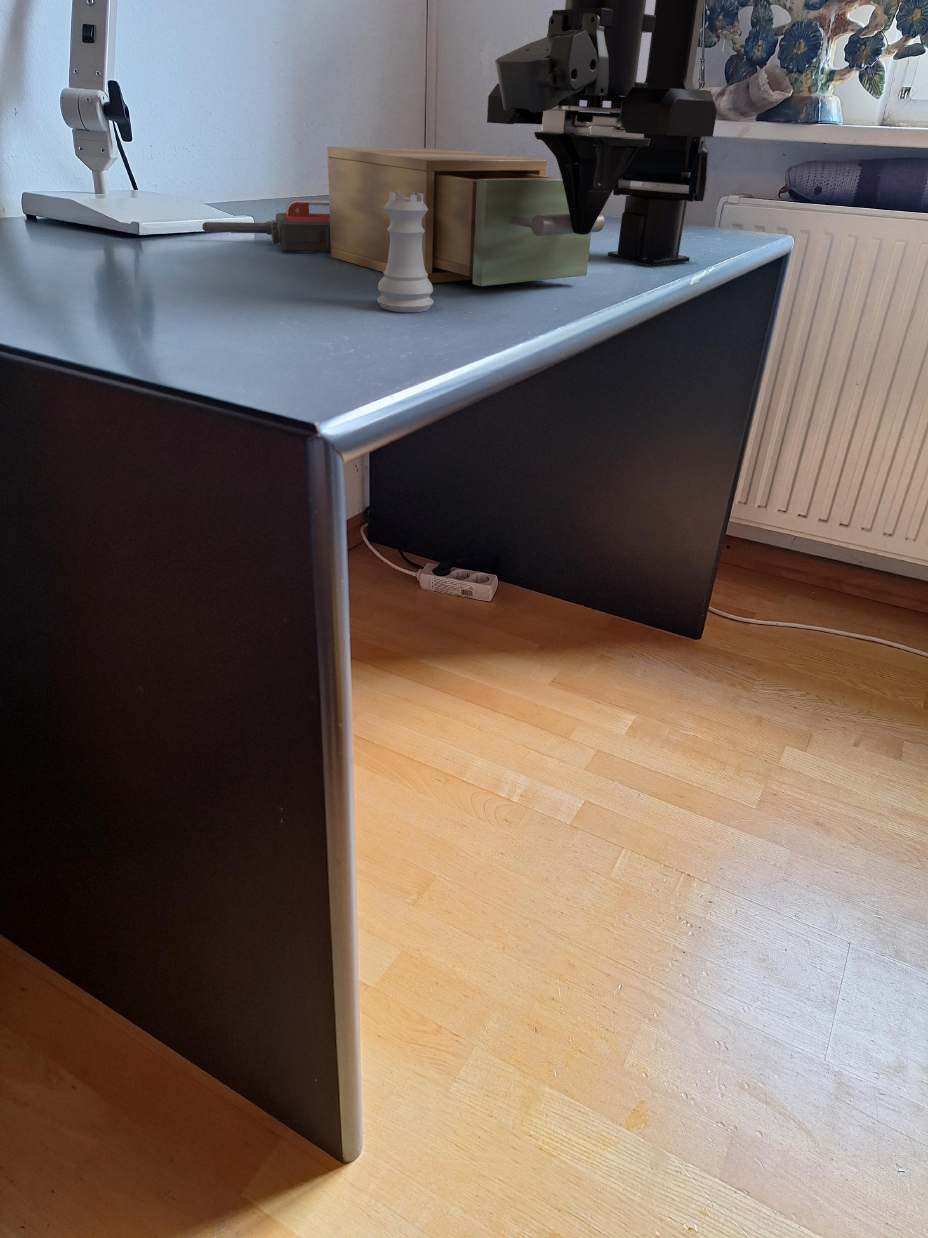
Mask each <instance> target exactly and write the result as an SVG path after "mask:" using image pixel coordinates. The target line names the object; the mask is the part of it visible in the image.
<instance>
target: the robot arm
mask: <svg viewBox="0 0 928 1238" xmlns="http://www.w3.org/2000/svg"><path fill="white" fill-rule="evenodd" d="M564 4H565V5H564V9H553V10H552V12H551V15H550V17H549V18H548V25H547V26H548V27H547V34H546V37H542V38H540V39H538V40H535V41H531V42H528V43H526V44H525V45H523V46H520V47H519V48H516V49H514V50H511V51H510V52H508V53H506V54H503V55H501V56H500V57H499V56H498V57H497V58H496V59H495V61H494V62H495V68H496V74H497V79H498V83H496V85H495V86H494V88H493V89H492V90H491V92H490V93H489V95H488V96H487V111H486V112H487V115H486V123H488V124H501V125H502V124H503V125H514V124H515V125H517V124H520V125H541V131H533V134H534V137H535V139H536V140H538V141H542V142H543V144H545V145H546V147H547V148H548V149H549V151H550V152H551V153H552V154H553V156H554V157H555V159H556V163H557V166H558V169H559V173H560V176H561V178H562V181H563V185H564V190H565V195H566V199H567V204H568V209H569V214H570V219H571V223H572V228H573V232H574V233H575V234H580V235H586V234H589V233H590V231H591V229H592V227H593V226H594V224H595V222H596V220H597V218H598V216H599V215H600V213H601V214H602V211H603V210H604V208H605V205H606V204H607V202H608V200H609V198H610V197H611V195H613V196H625V200H624V202H625V203H624V210H623V212H622V213H621V221H620V228H619V234H618V235H619V237H618V244H617V250H614V251H613V250H612V251H607V257H609V258H612V259H613V258H614V259H619V260H623V261H629V262H633V263H638V264H642V265H646V266H647V265H649V266H660V265H670V264H679V263H687V262H688V263H689V262H690V256H686V255H681V254H680V248H681V243H682V242H681V241H682V236H683V229H684V223H685V218H686V211H687V203H689V202H690V203H693V202H705V197H706V191H707V183H708V174H709V173H708V172H709V157H710V151H709V149H708V148H707V142H706V138H713V137H714V133H715V126H716V121H717V120H716V119H717V116H718V115H717V114H718V109H717V105H716V102H715V100H714V97H713V94H712V91H711V90H701V89H696V88H695V85H694V83H693V80H694V73H695V67H696V60H697V59H696V58H697V53H698V47H699V40H700V32H701V26H702V21H703V20H702V19H703V12H704V6H705V0H655V2H654V11H653V14H649V13H646V6H647V0H565V2H564ZM644 33H645V34H647V33H648V34H649V33H650V34H651V35H650V44H649V51H648V58H647V67H646V73H645V79H644V82H643V81H642V82H640V81H637V78H638V69H639V62H640V55H641V54H640V53H641V46H642V39H643V38H642V37H643V34H644ZM581 101H586V105H585V106H584V105H581ZM604 102H610V107H605V106H604ZM632 182H637V183H652V184H662V185H663V184H664V185H674V186H675V185H676V186H687V187H688V189H676V188H675V189H674V188H663V187H651V186H637V185H631V183H632Z"/></svg>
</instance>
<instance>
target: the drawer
mask: <svg viewBox="0 0 928 1238" xmlns="http://www.w3.org/2000/svg"><path fill="white" fill-rule="evenodd" d="M605 222H606V220H605V216H604V214H603V213H602V212H601V213H600V215H599V216H598V218H597V220H596V222H595V224H594V226H593V227H592V229H591V231H590V233H589V234H586V235H580V234H575V233H574V232H573V228H572V223H571V219H570V214H569V209H568V204H567V199H566V195H565V190H564V185H563V181H562V177H559V176H558V177H557V176H552V175H551V176H549V175H546V176H544V175H536V174H528V173H521V172H513V171H434V211H433V254H432V267H435V268H439V269H443V270H447V271H450V272H454V273H458V274H462V275H466V276H473V279H472V285H475V286H479V287H488V286H497V285H508V284H517V283H526V282H527V283H528V282H536V281H537V282H538V281H547V280H555V279H565V278H566V279H567V278H574V277H583V276H584V277H585V276H587V275H588V274H587V273H588V266H589V258H590V257H589V256H590V248H591V247H590V246H591V237H592V233H599V232H601V231H602V230H603V229H604V226H605Z"/></svg>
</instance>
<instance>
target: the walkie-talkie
mask: <svg viewBox="0 0 928 1238" xmlns="http://www.w3.org/2000/svg"><path fill="white" fill-rule="evenodd" d="M310 205H311V206H329V200H305V199H304V200H301V199H295V200H291V201H289V203H288V204H287V205H286V209H285V211H286V212H279V213H278V212H277V213H276V214H275V218H274V219H271V220H270V221H266V222H246V221H245V222H241V221H240V222H237V221H235V222H233V221H205V222H203V223H202V227H201V228H202V231H204V232H205V233H231V234H266V235H267V236H271V243H272V244H273V245H279V247H280V248H281V250H282V251H283V252H284V253H285V252H286V253H331V242H330V213H326V212H325V213H324V212H323V213H319V212H310Z"/></svg>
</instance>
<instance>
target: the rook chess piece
mask: <svg viewBox="0 0 928 1238" xmlns="http://www.w3.org/2000/svg"><path fill="white" fill-rule="evenodd" d="M384 208H385V209H386V211H387V213H388V214H389V216H390V220H391V222H390V226H389V227H388V229H387V230H388V232H389V233H390V248H389V256H388V263H387V267H386V270H385V271H384V272H382V273H383V277H382V278H381V279H380V280H379V281H378V285H377V290H378V291H379V293H380V294H381V295H380V296H378V297H377V298H376V302H377V303H378V305H379V306H380V308H382V309H383V310H385V311H390V312H396V313H422V312H426V311H428V310H430V309H431V308H432V306H433V305H434V303H435V301H434V299H433V298H431V294H432V293H433V292H434V287H433V283H431V282H430V281H429V280H428V278H427V277H428V273H426V272H425V267H424V262H423V252H422V235H423V233H424V232H425V231H424V229H423V228H422V218H423V217H424V215H425V214H426V212H427V210H428V208H427V206H426V205H425V203H424V202H423V194H422V193H417V195H415V192H408V197H404V195H403V192H396V194H395V192H389V200H388V202H387V203H386V205H385V206H384Z"/></svg>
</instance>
